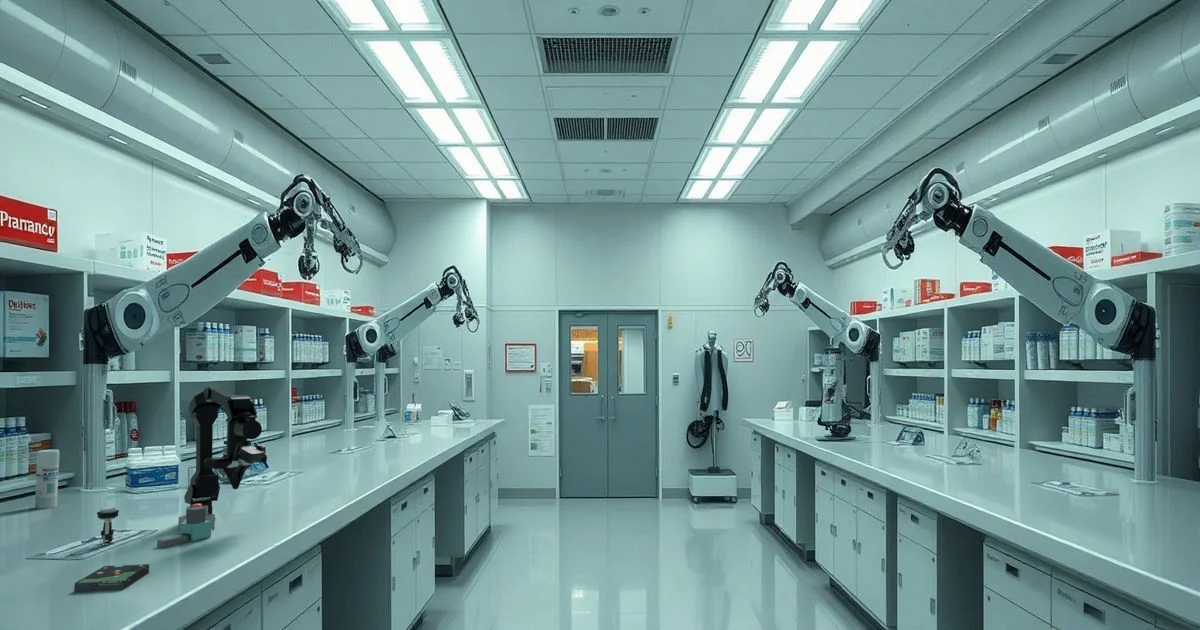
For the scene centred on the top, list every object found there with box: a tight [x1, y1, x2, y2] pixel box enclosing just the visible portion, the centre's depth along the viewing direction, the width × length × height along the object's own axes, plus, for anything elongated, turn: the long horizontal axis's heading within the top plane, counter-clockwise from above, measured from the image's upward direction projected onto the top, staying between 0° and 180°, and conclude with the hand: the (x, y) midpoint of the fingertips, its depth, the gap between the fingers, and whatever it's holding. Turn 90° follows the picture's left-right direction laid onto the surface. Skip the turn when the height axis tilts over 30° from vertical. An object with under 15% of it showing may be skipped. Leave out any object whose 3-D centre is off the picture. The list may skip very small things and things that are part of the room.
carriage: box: [179, 507, 212, 542], centre depth 221 cm, size 6×5×8 cm
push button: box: [96, 506, 120, 546], centre depth 215 cm, size 7×5×10 cm
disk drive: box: [73, 563, 150, 593], centre depth 178 cm, size 10×3×15 cm
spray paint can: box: [34, 449, 61, 510], centre depth 271 cm, size 6×6×20 cm
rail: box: [156, 533, 212, 549], centre depth 218 cm, size 15×3×2 cm, turn 157°
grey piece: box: [177, 505, 216, 533], centre depth 233 cm, size 7×7×7 cm
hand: (235, 489), depth 231 cm, fingers closed
